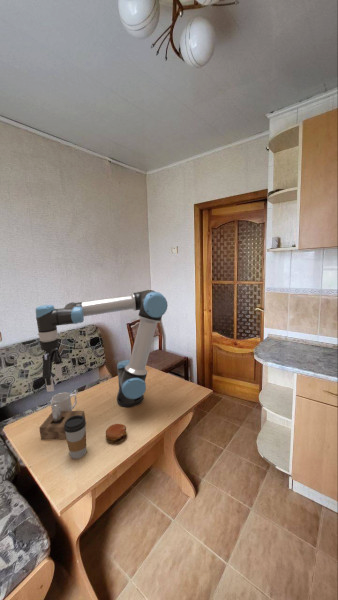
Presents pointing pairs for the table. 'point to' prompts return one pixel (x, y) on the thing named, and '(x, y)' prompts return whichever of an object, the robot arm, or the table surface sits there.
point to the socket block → (57, 425)
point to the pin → (56, 413)
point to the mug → (64, 401)
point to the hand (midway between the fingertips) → (55, 383)
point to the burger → (116, 433)
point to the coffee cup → (76, 436)
